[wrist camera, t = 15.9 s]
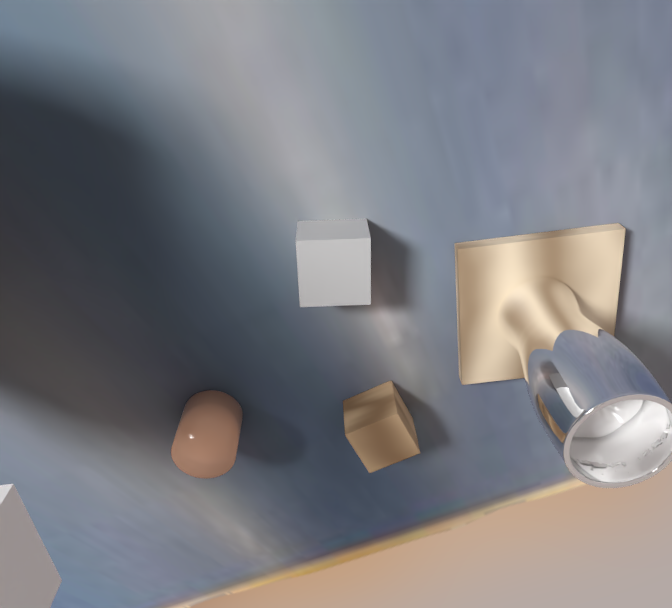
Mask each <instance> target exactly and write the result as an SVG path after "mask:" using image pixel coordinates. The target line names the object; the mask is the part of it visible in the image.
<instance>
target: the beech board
mask: <svg viewBox="0 0 672 608" xmlns="http://www.w3.org/2000/svg"><path fill="white" fill-rule="evenodd" d="M624 239H625V228H624V227H623V226H621V225H620V224H619V223H614V224H606V225H598V226H590V227H582V228H574V229H566V230H558V231H549V232H541V233H533V234H525V235H517V236H509V237H501V238H493V239H485V240H477V241H469V242H461V243H455V269H456V298H457V328H458V357H459V377H460V380H461V383H462V385H466V384H474V383H483V382H492V381H500V380H509V379H518V378H524V373H523V368H522V364H521V360H520V356H519V354H518V352H517V351H516V349H515V348H514V347H513V346H512V345H511V344H510V343H509V342H508V341H507V340H506V339H505V338H504V337H503V335H502V334H501V332H500V330H499V327H498V322H497V314H498V309H499V306H500V304H501V302H502V300H503V299H504V297H505V296H506V295H507V294H508V293H509V292H510V291H511V290H512V289H513V288H514V287H516V286H517V285H519V284H521V283H523V282H525V281H527V280H531V279H535V278H552V279H556V280H558V281H560V282H562V283H564V284H565V285H567V286H568V287H569V288H570V289H571V290H572V291H573V293H574V294H575V296H576V299H577V301H578V304H579V306H580V309H581V311H582V313H583V314H584V315H585V316H586V317H587V318H588V319H589V320H591V321H592V322H594V323H595V324H596V325H598V326H599V327H601V328H602V329H604V330H605V331H607V332H608V333H610V334H611V335H612V336H614V332H615V323H616V313H617V304H618V295H619V285H620V276H621V267H622V257H623V248H624Z"/></svg>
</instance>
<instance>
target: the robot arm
mask: <svg viewBox="0 0 672 608" xmlns="http://www.w3.org/2000/svg"><path fill="white" fill-rule="evenodd" d="M61 581H62V580H61V578H60V576H59V574H58V572H57V570H56V568H55V566H54V564H53V562H52V560H51V558H50V556H49V554H48V552H47V550H46V548H45V546H44V544H43V542H42V540H41V538H40V536H39V534H38V532H37V530H36V528H35V526H34V524H33V522H32V520H31V518H30V516H29V514H28V512H27V510H26V508H25V506H24V504H23V502H22V500H21V498H20V496H19V494H18V492H17V490H16V488H15V486H14V484H8V485H0V608H50V606H51V604H52V602H53V600H54V597H55V595H56V593H57V590H58V588H59V586H60V583H61Z"/></svg>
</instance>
